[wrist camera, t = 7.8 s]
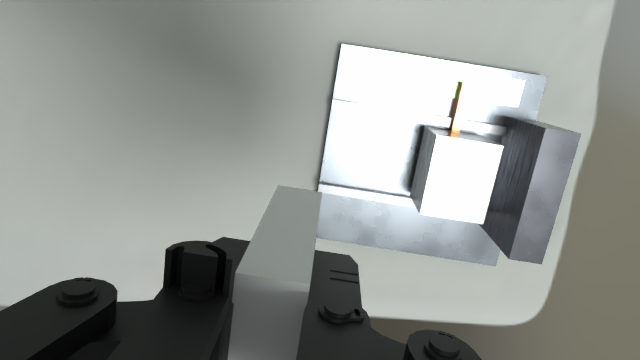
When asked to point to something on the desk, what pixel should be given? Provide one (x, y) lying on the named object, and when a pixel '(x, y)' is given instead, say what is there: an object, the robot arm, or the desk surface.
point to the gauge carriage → (455, 170)
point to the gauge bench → (404, 145)
